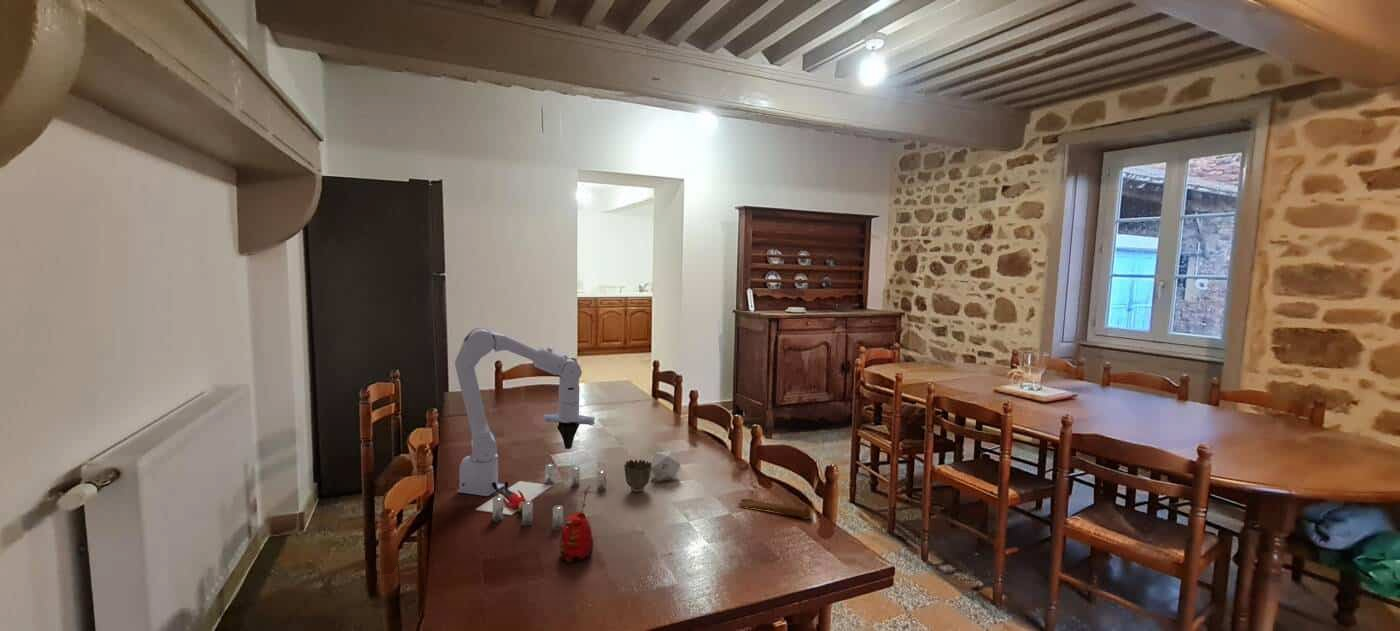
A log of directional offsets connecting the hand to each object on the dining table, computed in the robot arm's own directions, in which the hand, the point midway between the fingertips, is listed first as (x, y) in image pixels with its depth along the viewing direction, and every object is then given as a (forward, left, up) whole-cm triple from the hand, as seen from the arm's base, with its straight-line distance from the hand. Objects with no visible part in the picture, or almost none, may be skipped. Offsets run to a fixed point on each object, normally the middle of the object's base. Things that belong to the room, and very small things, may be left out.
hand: (568, 447), depth 165 cm
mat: (-7, -16, -9) cm, 20 cm away
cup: (+22, -2, -10) cm, 24 cm away
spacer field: (+3, -16, -9) cm, 19 cm away
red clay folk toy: (+22, -39, -10) cm, 46 cm away
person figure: (-5, -20, -9) cm, 22 cm away
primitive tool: (+59, -3, -10) cm, 60 cm away
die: (+26, +10, -10) cm, 29 cm away
